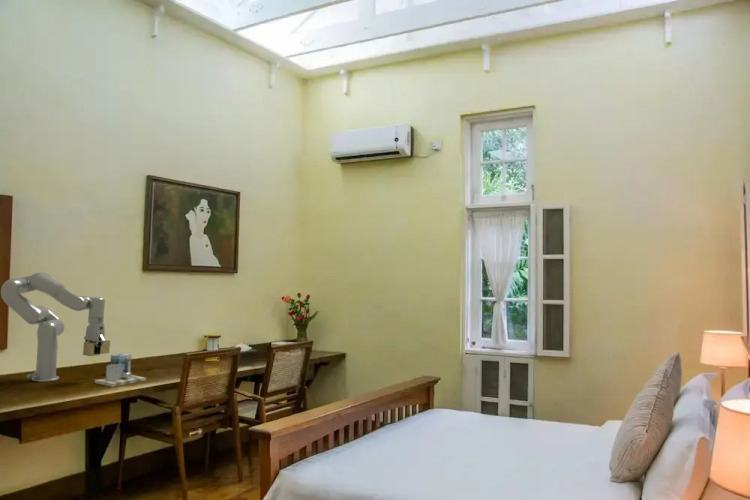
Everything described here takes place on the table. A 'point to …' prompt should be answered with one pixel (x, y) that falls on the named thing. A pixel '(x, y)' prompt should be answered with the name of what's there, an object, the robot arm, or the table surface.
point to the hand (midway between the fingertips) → (93, 352)
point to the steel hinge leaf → (117, 372)
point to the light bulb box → (121, 360)
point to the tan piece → (90, 348)
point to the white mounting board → (121, 381)
